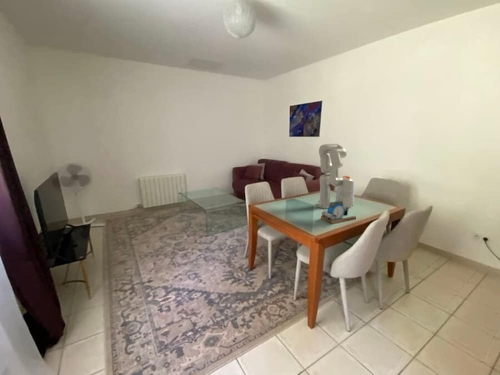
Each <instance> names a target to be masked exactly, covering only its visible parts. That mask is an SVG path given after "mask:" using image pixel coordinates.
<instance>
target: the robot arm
mask: <svg viewBox="0 0 500 375" xmlns="http://www.w3.org/2000/svg"><path fill="white" fill-rule="evenodd" d="M346 150H347V149H346V148H345V147H343V146H341V145H340V144H338V143H325V144H321V145H320V146H319V148H318V154H319V158H320V160H319V161H320V172H321V173H323V174H321V175H320V176H319V200H318V201H317V203H318V204H317V207H318V208H321V209H328V207H329V206H330V203H331V191H332V190H331V186H333V187H334V188H335V187H336V188H337V187H338V186H342V195H341V197H340V202H342V206H343V207H344V215H343V216H345V217H346V216H348V213H349V210H350V209H351V208H352V206H353V205H352V180H353V179H352V178H350V179H348V178H346V177H343V176H342V177H339V169H340V168H342V167H343V166H344V164H343V161H342V160H343V159H344V158H346V156H347V151H346ZM351 179H352V180H351ZM330 185H331V186H330ZM340 205H341V204H340Z"/></svg>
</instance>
